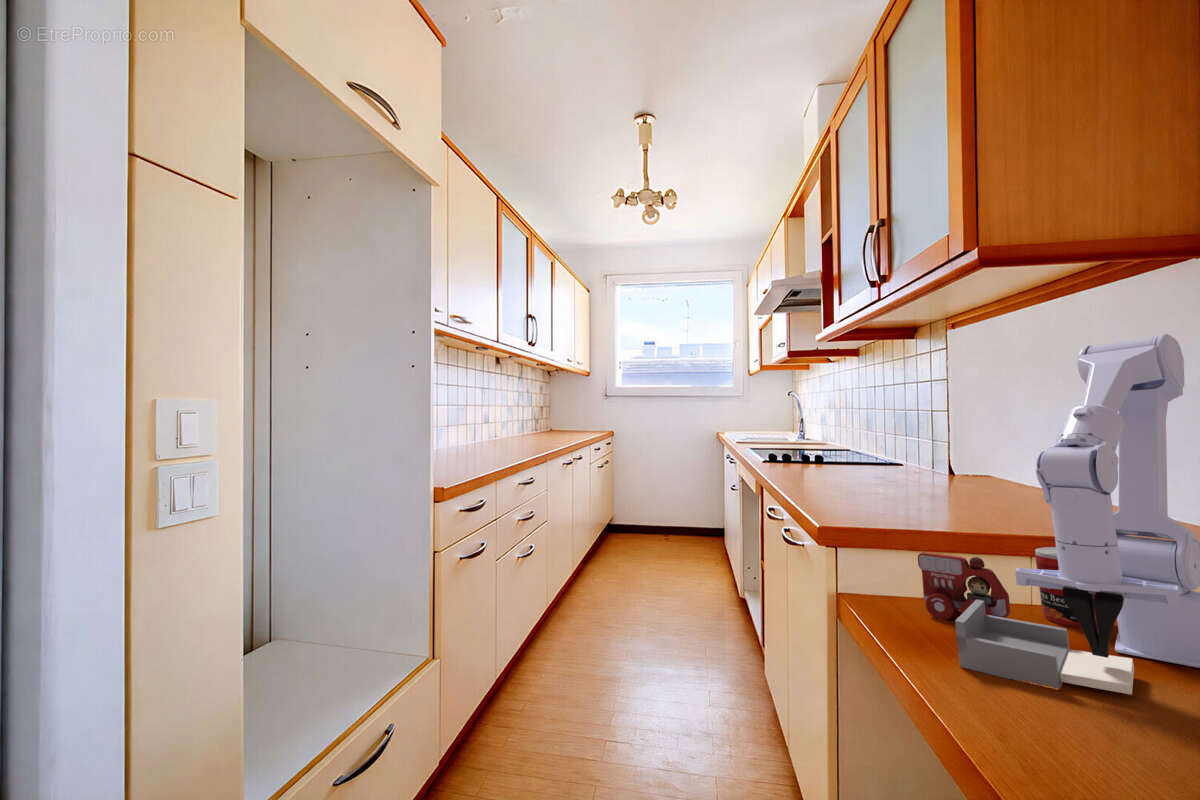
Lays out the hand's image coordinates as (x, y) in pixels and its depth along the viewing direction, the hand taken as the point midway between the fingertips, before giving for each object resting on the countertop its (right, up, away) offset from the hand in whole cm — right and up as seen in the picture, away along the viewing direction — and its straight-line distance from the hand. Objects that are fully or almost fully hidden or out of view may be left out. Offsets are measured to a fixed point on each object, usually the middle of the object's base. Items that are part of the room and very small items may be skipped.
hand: (1100, 653), depth 62 cm
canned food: (+15, -5, +19) cm, 25 cm away
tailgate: (-2, -2, +2) cm, 4 cm away
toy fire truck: (0, -6, +23) cm, 24 cm away
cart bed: (-6, -4, +6) cm, 9 cm away
